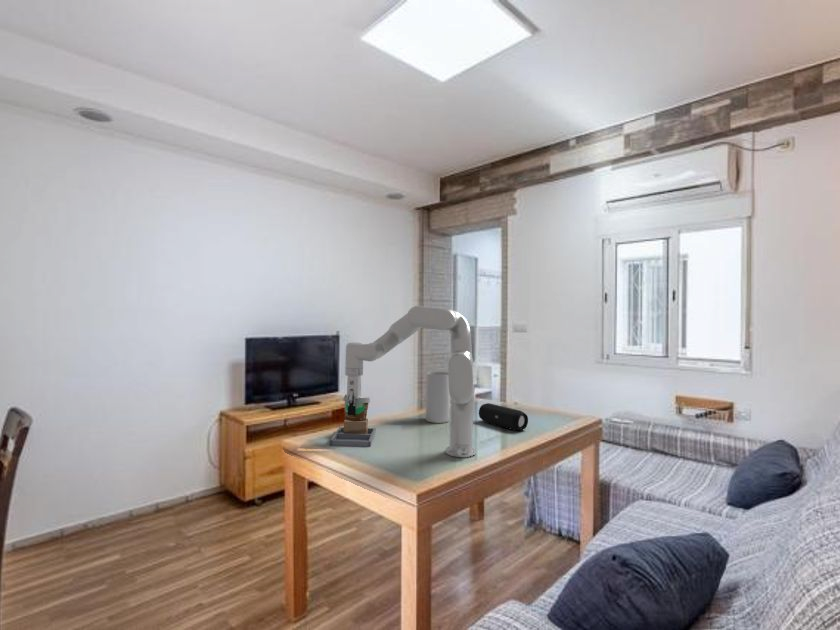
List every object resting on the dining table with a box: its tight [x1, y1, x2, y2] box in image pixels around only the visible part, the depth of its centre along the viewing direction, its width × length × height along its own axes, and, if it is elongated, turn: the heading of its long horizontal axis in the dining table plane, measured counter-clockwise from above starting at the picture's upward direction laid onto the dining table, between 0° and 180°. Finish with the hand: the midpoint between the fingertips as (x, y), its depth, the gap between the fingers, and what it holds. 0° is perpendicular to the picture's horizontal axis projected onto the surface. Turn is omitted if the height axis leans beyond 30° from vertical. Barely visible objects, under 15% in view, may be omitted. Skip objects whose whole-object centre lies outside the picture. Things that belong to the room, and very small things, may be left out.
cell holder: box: [329, 426, 377, 448], centre depth 199 cm, size 21×17×3 cm
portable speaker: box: [478, 402, 529, 431], centre depth 232 cm, size 26×10×10 cm, turn 41°
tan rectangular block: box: [343, 418, 369, 434], centre depth 204 cm, size 6×10×7 cm, turn 90°
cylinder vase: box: [425, 371, 451, 424], centre depth 239 cm, size 12×12×25 cm
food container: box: [343, 393, 371, 421], centre depth 193 cm, size 12×6×10 cm, turn 69°
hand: (352, 412), depth 194 cm, fingers closed on food container, 6 cm apart
